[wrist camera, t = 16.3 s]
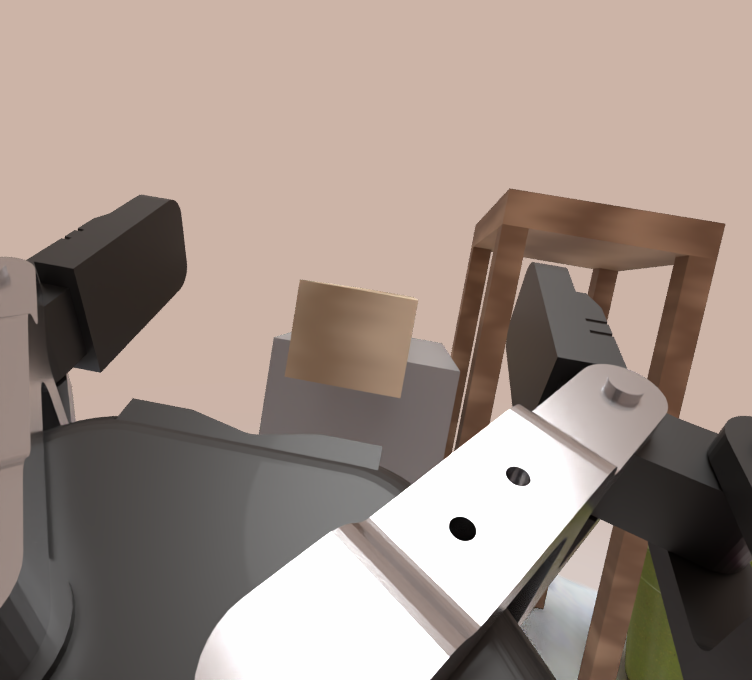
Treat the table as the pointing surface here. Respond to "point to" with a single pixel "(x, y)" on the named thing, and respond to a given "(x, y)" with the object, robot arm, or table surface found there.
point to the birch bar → (351, 337)
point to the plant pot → (650, 633)
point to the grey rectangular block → (371, 409)
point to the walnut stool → (606, 257)
